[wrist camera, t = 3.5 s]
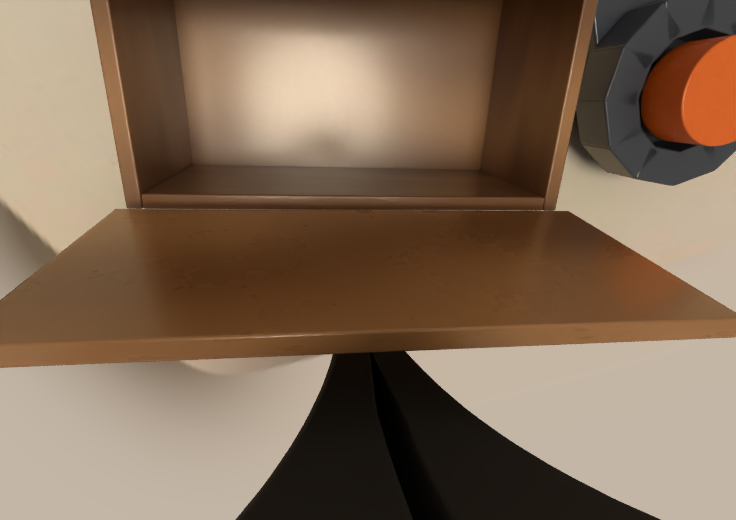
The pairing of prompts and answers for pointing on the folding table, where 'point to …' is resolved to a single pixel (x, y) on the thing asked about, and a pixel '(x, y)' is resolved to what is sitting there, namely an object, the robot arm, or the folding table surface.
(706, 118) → the button
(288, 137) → the carton
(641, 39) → the control box
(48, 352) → the flap
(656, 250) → the folding table surface
